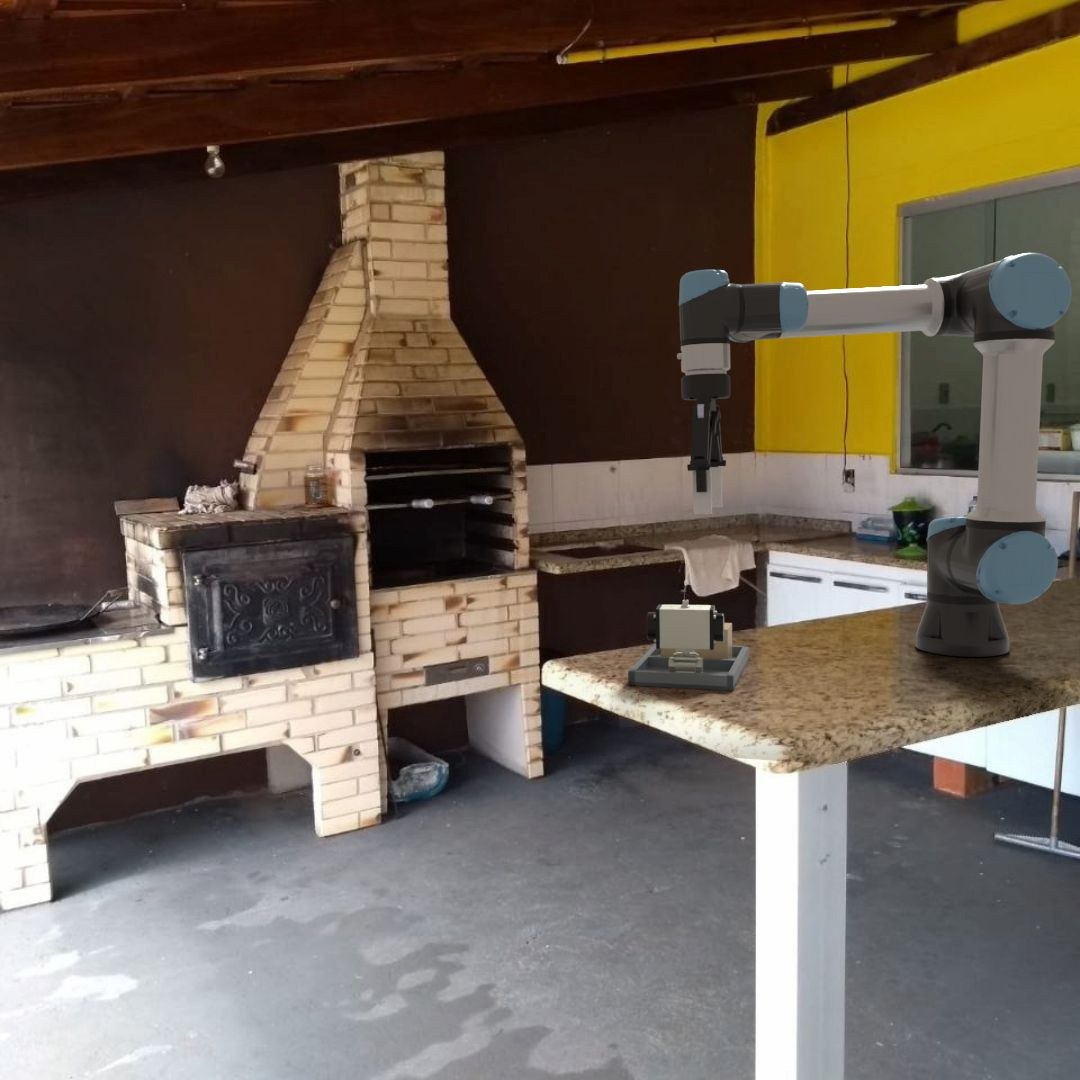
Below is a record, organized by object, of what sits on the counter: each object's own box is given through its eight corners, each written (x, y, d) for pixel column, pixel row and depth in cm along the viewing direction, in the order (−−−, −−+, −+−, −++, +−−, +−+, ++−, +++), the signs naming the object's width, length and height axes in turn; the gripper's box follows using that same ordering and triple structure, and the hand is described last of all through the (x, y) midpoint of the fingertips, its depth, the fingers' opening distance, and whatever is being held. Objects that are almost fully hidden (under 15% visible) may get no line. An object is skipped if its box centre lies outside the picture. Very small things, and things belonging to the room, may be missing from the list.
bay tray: (749, 658, 179) (749, 620, 178) (733, 690, 157) (733, 647, 156) (656, 654, 183) (655, 617, 183) (628, 685, 161) (627, 643, 161)
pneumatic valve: (723, 680, 161) (723, 602, 160) (647, 678, 163) (646, 601, 162) (724, 672, 166) (724, 597, 165) (650, 670, 169) (650, 596, 167)
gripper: (692, 378, 175) (695, 505, 177) (668, 371, 151) (672, 517, 153) (738, 375, 173) (740, 504, 175) (720, 368, 149) (723, 516, 151)
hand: (708, 510), depth 164 cm, fingers open, 13 cm apart
